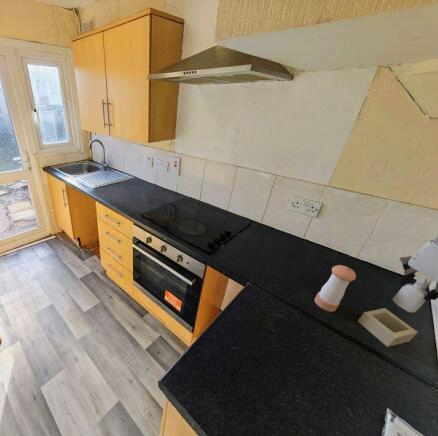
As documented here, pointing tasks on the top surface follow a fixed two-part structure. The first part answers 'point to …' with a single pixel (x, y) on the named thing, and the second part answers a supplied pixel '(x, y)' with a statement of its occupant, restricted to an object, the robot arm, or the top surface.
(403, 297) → the eye dropper bottle
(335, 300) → the salt shaker
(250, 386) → the top surface
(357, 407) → the top surface
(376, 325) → the socket block
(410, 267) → the robot arm
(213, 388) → the top surface
